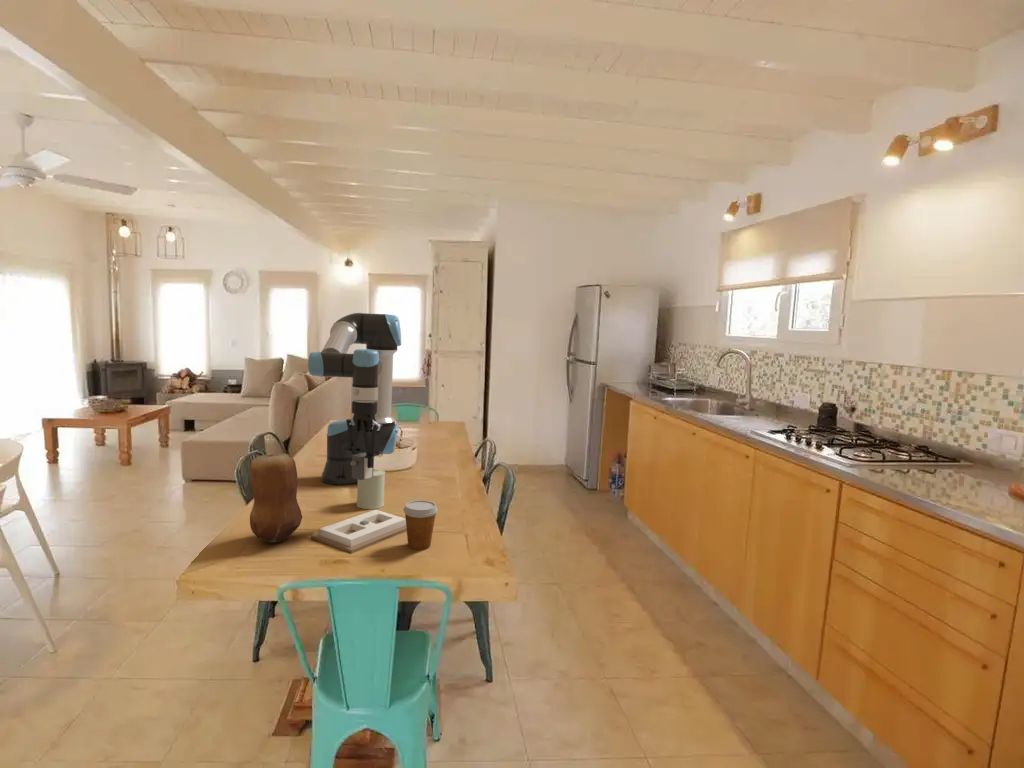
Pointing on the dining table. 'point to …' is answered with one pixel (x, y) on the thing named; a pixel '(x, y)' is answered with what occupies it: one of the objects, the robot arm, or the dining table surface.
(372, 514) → the socket board
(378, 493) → the can
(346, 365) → the robot arm
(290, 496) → the butternut squash
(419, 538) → the disposable coffee cup
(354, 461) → the plug
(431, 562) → the dining table surface
